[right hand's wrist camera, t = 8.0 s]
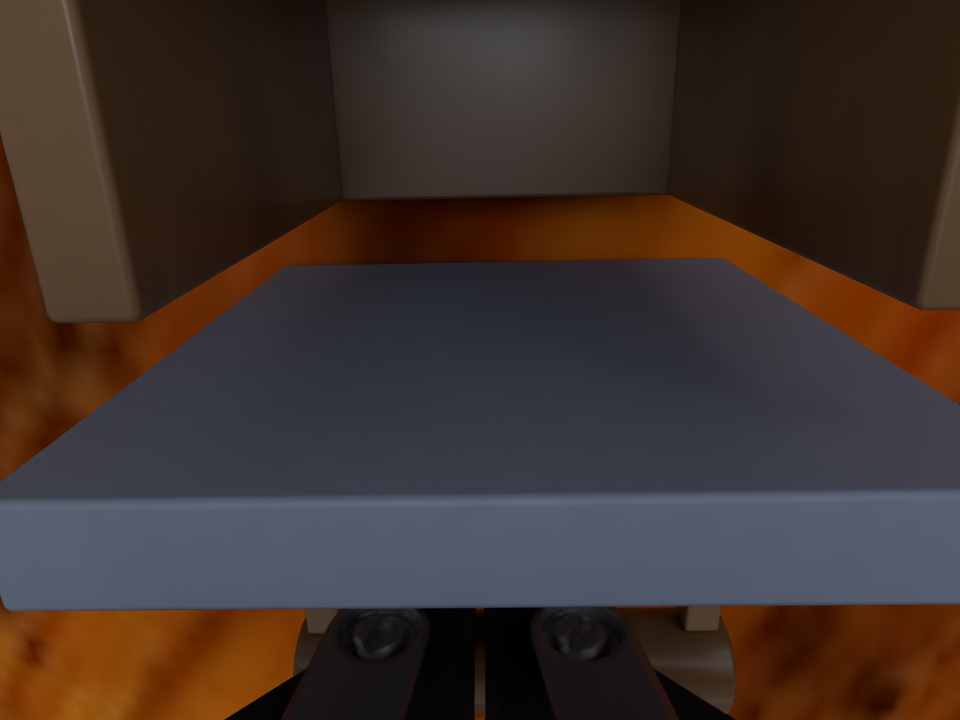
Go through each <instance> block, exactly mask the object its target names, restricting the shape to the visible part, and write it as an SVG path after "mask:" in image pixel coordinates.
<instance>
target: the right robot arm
mask: <svg viewBox="0 0 960 720" xmlns="http://www.w3.org/2000/svg"><path fill="white" fill-rule="evenodd" d="M475 614H476V608H383V609H342V610H341V611H339V612H338V613H337V614H336V615H335V617H334V618H333V619H332V621H331V622H330V623H329V625H328V627H327V629H326V631H325V633H324V635H323V637H322V639H321V641H320V643H319V645H318V647H317V649H316V651H315V653H314V655H313V657H312V659H311V661H310V663H309V665H308V667H307V668H306V669H305V670H303V671H301V672H300V673H298V674H297V675H295V676H293V677H292V678H290V679H289V680H287V681H286V682H284V683H282V684H281V685H279V686H278V687H276V688H274V689H273V690H271V691H270V692H268V693H266V694H265V695H263V696H262V697H260V698H258V699H257V700H255V701H254V702H252V703H250V704H249V705H247V706H246V707H244V708H242V709H241V710H239V711H238V712H236V713H234V714H233V715H231V716H230V717H228V718H226V719H225V720H475ZM484 625H485V720H735V719H733V718H732V717H730V716H729V715H727V714H726V713H724V712H722V711H721V710H719V709H718V708H716V707H714V706H713V705H711V704H710V703H708V702H706V701H705V700H703V699H702V698H700V697H698V696H697V695H695V694H694V693H692V692H690V691H689V690H687V689H686V688H684V687H682V686H681V685H679V684H678V683H676V682H674V681H673V680H671V679H670V678H668V677H666V676H665V675H663V674H662V673H660V672H658V671H657V670H655V669H654V668H653V667H652V665H651V663H650V661H649V659H648V657H647V655H646V653H645V651H644V649H643V647H642V645H641V643H640V641H639V639H638V637H637V635H636V633H635V631H634V629H633V627H632V625H631V623H630V622H629V621H628V619H627V618H626V617H625V615H624V614H623V613H622V612H621V611H619V610H618V609H617V608H615V607H515V608H484Z"/></svg>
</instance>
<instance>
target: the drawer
mask: <svg viewBox="0 0 960 720" xmlns="http://www.w3.org/2000/svg"><path fill="white" fill-rule="evenodd" d="M0 133H1V136H2V140H3V144H4V148H5V152H6V156H7V160H8V164H9V168H10V171H11V175H12V179H13V183H14V187H15V191H16V195H17V199H18V203H19V207H20V210H21V214H22V218H23V222H24V226H25V230H26V234H27V238H28V242H29V246H30V249H31V253H32V257H33V261H34V265H35V269H36V273H37V277H38V281H39V284H40V288H41V292H42V296H43V300H44V304H45V308H46V312H47V315H48V317H49V318H50V320H51V321H54V322H57V323H118V322H137V321H139V320H141V319H143V318H145V317H146V316H148V315H150V314H151V313H153V312H155V311H156V310H158V309H160V308H162V307H163V306H165V305H167V304H168V303H170V302H172V301H173V300H175V299H177V298H178V297H180V296H182V295H183V294H185V293H187V292H188V291H190V290H192V289H193V288H195V287H197V286H199V285H200V284H202V283H204V282H205V281H207V280H209V279H210V278H212V277H214V276H215V275H217V274H219V273H220V272H222V271H224V270H225V269H227V268H229V267H230V266H232V265H234V264H236V263H237V262H239V261H241V260H242V259H244V258H246V257H247V256H249V255H251V254H252V253H254V252H256V251H257V250H259V249H261V248H262V247H264V246H266V245H267V244H269V243H271V242H273V241H274V240H276V239H278V238H279V237H281V236H283V235H284V234H286V233H288V232H289V231H291V230H293V229H294V228H296V227H298V226H299V225H301V224H303V223H304V222H306V221H308V220H310V219H311V218H313V217H315V216H316V215H318V214H320V213H321V212H323V211H325V210H326V209H328V208H330V207H331V206H333V205H335V204H336V203H338V202H340V201H380V200H431V199H482V198H532V197H583V196H634V195H671V196H673V197H675V198H677V199H679V200H681V201H684V202H686V203H688V204H690V205H692V206H695V207H697V208H699V209H701V210H703V211H705V212H708V213H710V214H712V215H714V216H716V217H719V218H721V219H723V220H725V221H727V222H729V223H732V224H734V225H736V226H738V227H740V228H743V229H745V230H747V231H749V232H751V233H753V234H756V235H758V236H760V237H762V238H764V239H767V240H769V241H771V242H773V243H775V244H777V245H780V246H782V247H784V248H786V249H788V250H791V251H793V252H795V253H797V254H799V255H801V256H804V257H806V258H808V259H810V260H812V261H815V262H817V263H819V264H821V265H823V266H825V267H828V268H830V269H832V270H834V271H836V272H839V273H841V274H843V275H845V276H847V277H849V278H852V279H854V280H856V281H858V282H860V283H863V284H865V285H867V286H869V287H871V288H873V289H876V290H878V291H880V292H882V293H884V294H887V295H889V296H891V297H893V298H895V299H897V300H900V301H902V302H904V303H906V304H908V305H911V306H913V307H915V308H917V309H920V310H958V309H960V0H0ZM0 595H1V598H2V601H3V604H4V606H5V607H6V608H7V609H8V610H10V611H120V610H252V609H305V612H306V618H305V620H304V622H303V624H302V627H301V630H300V633H299V637H298V641H297V646H296V652H295V660H294V673H293V676H295V675H297V674H298V673H300V672H301V671H303V670H305V669H306V668H307V667H308V665H309V663H310V661H311V659H312V657H313V655H314V653H315V651H316V649H317V647H318V645H319V643H320V641H321V639H322V637H323V635H324V633H325V631H326V629H327V627H328V625H329V623H330V622H331V621H332V619H333V618H334V617H335V615H336V614H337V613H338V612H339V611H341V610H342V609H383V608H515V607H646V606H677V608H617V609H618V610H619V611H621V612H622V613H623V614H624V615H625V617H626V618H627V619H628V621H629V622H630V623H631V625H632V627H633V629H634V631H635V633H636V635H637V637H638V639H639V641H640V643H641V645H642V647H643V649H644V651H645V653H646V655H647V657H648V659H649V661H650V663H651V665H652V667H653V668H654V669H655V670H657V671H658V672H660V673H662V674H663V675H665V676H666V677H668V678H670V679H671V680H673V681H674V682H676V683H678V684H679V685H681V686H682V687H684V688H686V689H687V690H689V691H690V692H692V693H694V694H695V695H697V696H698V697H700V698H702V699H703V700H705V701H706V702H708V703H710V704H711V705H713V706H714V707H716V708H718V709H719V710H721V711H722V712H724V713H726V714H728V713H730V711H731V710H732V708H733V705H734V700H735V691H736V675H735V664H734V657H733V651H732V647H731V642H730V639H729V635H728V632H727V629H726V627H725V624H724V622H723V620H722V618H721V616H720V610H721V606H777V605H909V604H960V405H958V404H957V403H955V402H954V401H952V400H950V399H949V398H947V397H946V396H944V395H942V394H941V393H939V392H938V391H936V390H934V389H933V388H931V387H930V386H928V385H926V384H925V383H923V382H922V381H920V380H918V379H917V378H915V377H913V376H912V375H910V374H909V373H907V372H905V371H904V370H902V369H901V368H899V367H897V366H896V365H894V364H893V363H891V362H889V361H888V360H886V359H885V358H883V357H881V356H880V355H878V354H877V353H875V352H873V351H872V350H870V349H869V348H867V347H865V346H864V345H862V344H860V343H859V342H857V341H856V340H854V339H852V338H851V337H849V336H848V335H846V334H844V333H843V332H841V331H840V330H838V329H836V328H835V327H833V326H832V325H830V324H828V323H827V322H825V321H824V320H822V319H820V318H819V317H817V316H816V315H814V314H812V313H811V312H809V311H807V310H806V309H804V308H803V307H801V306H799V305H798V304H796V303H795V302H793V301H791V300H790V299H788V298H787V297H785V296H783V295H782V294H780V293H779V292H777V291H775V290H774V289H772V288H771V287H769V286H767V285H766V284H764V283H762V282H761V281H759V280H758V279H756V278H754V277H753V276H751V275H750V274H748V273H746V272H745V271H743V270H742V269H740V268H738V267H737V266H735V265H734V264H732V263H730V262H729V261H727V260H726V259H723V258H707V259H651V260H595V261H539V262H482V263H426V264H370V265H314V266H286V267H284V268H283V269H282V270H280V271H279V272H278V273H276V274H275V275H274V276H272V277H271V278H270V279H268V280H267V281H266V282H264V283H263V284H262V285H260V286H259V287H258V288H257V289H255V290H254V291H253V292H251V293H250V294H249V295H247V296H246V297H245V298H243V299H242V300H241V301H239V302H238V303H237V304H235V305H234V306H233V307H231V308H230V309H229V310H227V311H226V312H225V313H223V314H222V315H221V316H219V317H218V318H217V319H215V320H214V321H213V322H212V323H210V324H209V325H208V326H206V327H205V328H204V329H202V330H201V331H200V332H198V333H197V334H196V335H194V336H193V337H192V338H190V339H189V340H188V341H186V342H185V343H184V344H182V345H181V346H180V347H178V348H177V349H176V350H174V351H173V352H172V353H170V354H169V355H168V356H167V357H165V358H164V359H163V360H161V361H160V362H159V363H157V364H156V365H155V366H153V367H152V368H151V369H149V370H148V371H147V372H145V373H144V374H143V375H141V376H140V377H139V378H137V379H136V380H135V381H133V382H132V383H131V384H129V385H128V386H127V387H126V388H124V389H123V390H122V391H120V392H119V393H118V394H116V395H115V396H114V397H112V398H111V399H110V400H108V401H107V402H106V403H104V404H103V405H102V406H100V407H99V408H98V409H96V410H95V411H94V412H92V413H91V414H90V415H88V416H87V417H86V418H84V419H83V420H82V421H81V422H79V423H78V424H77V425H75V426H74V427H73V428H71V429H70V430H69V431H67V432H66V433H65V434H63V435H62V436H61V437H59V438H58V439H57V440H55V441H54V442H53V443H51V444H50V445H49V446H47V447H46V448H45V449H43V450H42V451H41V452H39V453H38V454H37V455H36V456H34V457H33V458H32V459H30V460H29V461H28V462H26V463H25V464H24V465H22V466H21V467H20V468H18V469H17V470H16V471H14V472H13V473H12V474H10V475H9V476H8V477H6V478H5V479H4V480H2V481H1V482H0ZM475 716H485V625H484V609H476V614H475Z"/></svg>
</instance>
